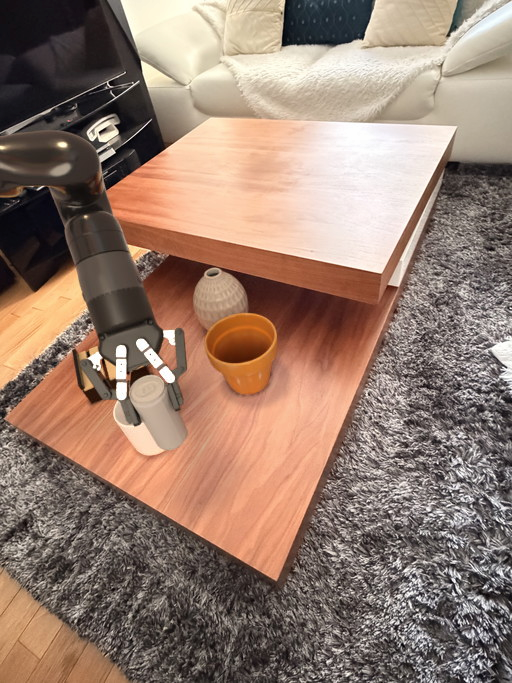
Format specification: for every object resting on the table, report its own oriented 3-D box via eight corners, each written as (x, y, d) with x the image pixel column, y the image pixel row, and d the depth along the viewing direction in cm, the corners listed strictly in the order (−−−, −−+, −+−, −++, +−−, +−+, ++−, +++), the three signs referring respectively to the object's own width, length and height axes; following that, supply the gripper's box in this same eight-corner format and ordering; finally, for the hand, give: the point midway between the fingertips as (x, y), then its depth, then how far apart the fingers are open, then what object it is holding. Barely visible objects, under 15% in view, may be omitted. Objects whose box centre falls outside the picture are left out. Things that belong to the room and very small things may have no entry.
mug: (143, 406, 83) (124, 374, 75) (185, 429, 77) (170, 397, 69) (113, 437, 78) (90, 407, 70) (156, 464, 72) (136, 434, 65)
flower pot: (294, 388, 81) (289, 345, 71) (231, 416, 78) (218, 375, 69) (265, 346, 90) (258, 303, 81) (208, 370, 87) (194, 328, 78)
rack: (91, 404, 85) (78, 385, 80) (84, 368, 93) (71, 349, 88) (152, 377, 88) (142, 358, 83) (140, 345, 96) (131, 326, 91)
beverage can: (153, 432, 59) (124, 383, 50) (183, 418, 60) (159, 368, 51) (161, 458, 56) (132, 410, 47) (192, 443, 57) (169, 394, 48)
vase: (221, 354, 90) (205, 299, 78) (191, 328, 98) (173, 274, 86) (262, 326, 95) (253, 270, 83) (231, 303, 103) (219, 249, 91)
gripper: (170, 283, 55) (209, 396, 55) (69, 314, 53) (110, 431, 53) (166, 271, 48) (211, 402, 48) (48, 307, 46) (96, 444, 46)
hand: (158, 417), depth 51 cm, fingers closed on beverage can, 5 cm apart
